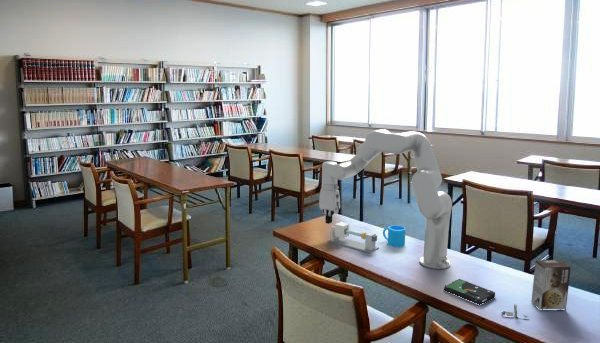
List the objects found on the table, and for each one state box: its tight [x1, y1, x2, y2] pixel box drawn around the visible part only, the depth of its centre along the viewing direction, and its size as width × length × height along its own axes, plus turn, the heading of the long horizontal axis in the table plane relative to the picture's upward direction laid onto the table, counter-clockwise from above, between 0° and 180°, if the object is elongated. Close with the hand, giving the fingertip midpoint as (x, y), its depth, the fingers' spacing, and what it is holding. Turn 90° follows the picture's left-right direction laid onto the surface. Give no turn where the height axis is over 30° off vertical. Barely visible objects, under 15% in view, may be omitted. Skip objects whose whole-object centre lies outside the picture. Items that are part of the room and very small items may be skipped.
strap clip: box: [503, 304, 518, 318], centre depth 151 cm, size 8×3×4 cm, turn 73°
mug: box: [382, 225, 407, 248], centre depth 220 cm, size 12×8×8 cm
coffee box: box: [530, 259, 572, 310], centre depth 157 cm, size 9×6×16 cm
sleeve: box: [334, 221, 350, 238], centre depth 221 cm, size 5×5×6 cm
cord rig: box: [327, 225, 380, 254], centre depth 217 cm, size 24×8×8 cm, turn 50°
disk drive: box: [443, 278, 496, 306], centre depth 167 cm, size 10×3×15 cm
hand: (328, 222), depth 225 cm, fingers closed
